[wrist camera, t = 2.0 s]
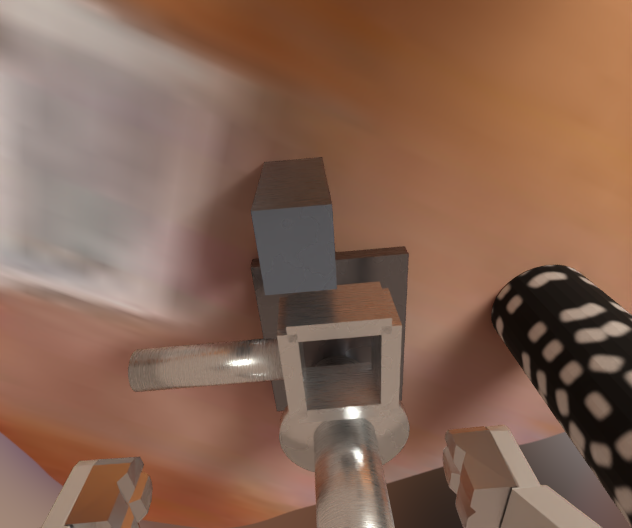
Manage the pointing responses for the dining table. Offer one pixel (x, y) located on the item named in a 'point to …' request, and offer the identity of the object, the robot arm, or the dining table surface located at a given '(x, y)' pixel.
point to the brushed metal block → (294, 227)
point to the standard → (319, 379)
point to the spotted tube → (576, 365)
